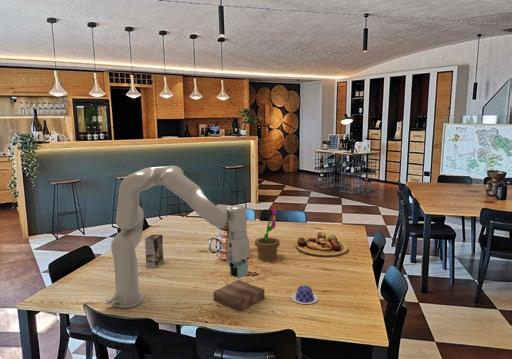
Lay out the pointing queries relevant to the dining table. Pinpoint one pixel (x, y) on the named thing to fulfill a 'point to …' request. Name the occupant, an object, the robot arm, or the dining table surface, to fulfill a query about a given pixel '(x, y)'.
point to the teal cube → (241, 269)
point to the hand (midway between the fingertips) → (239, 273)
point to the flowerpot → (268, 243)
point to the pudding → (304, 295)
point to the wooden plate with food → (321, 246)
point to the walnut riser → (238, 295)
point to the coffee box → (154, 251)
